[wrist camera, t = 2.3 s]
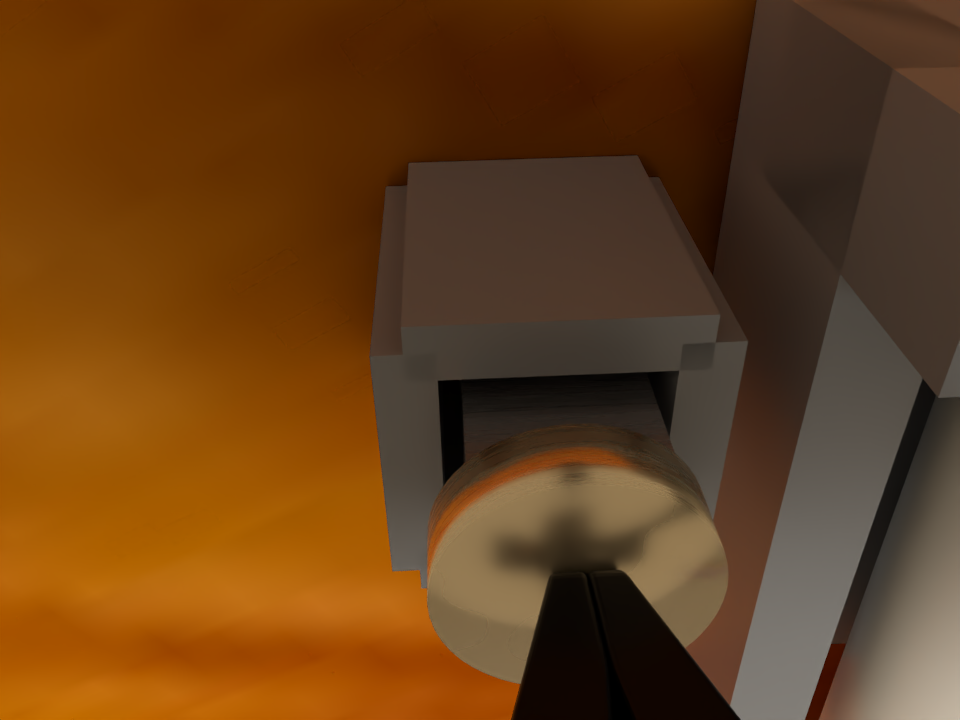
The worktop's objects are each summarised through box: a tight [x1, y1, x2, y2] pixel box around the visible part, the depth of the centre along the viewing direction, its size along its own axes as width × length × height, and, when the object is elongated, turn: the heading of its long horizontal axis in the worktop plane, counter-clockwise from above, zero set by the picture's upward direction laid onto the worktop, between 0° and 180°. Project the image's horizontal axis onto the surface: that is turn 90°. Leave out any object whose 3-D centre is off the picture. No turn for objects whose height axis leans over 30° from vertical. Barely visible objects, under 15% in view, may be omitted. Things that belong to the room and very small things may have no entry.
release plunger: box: [427, 372, 729, 684], centre depth 12 cm, size 3×3×6 cm
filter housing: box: [370, 0, 960, 720], centre depth 14 cm, size 16×14×7 cm
